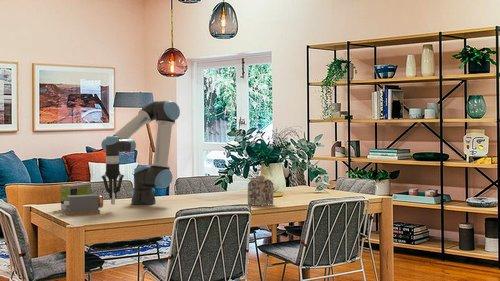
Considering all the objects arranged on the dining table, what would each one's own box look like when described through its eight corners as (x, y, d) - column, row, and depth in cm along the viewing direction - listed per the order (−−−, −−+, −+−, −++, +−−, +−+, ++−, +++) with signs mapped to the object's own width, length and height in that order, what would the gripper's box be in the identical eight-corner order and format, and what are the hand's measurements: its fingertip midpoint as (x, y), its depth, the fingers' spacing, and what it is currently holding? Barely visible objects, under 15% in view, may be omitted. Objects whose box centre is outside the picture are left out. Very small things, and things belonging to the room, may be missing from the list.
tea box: (81, 207, 405) (81, 182, 404) (92, 208, 398) (91, 183, 398) (60, 209, 393) (60, 184, 392) (70, 211, 387) (70, 185, 386)
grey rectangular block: (99, 207, 386) (99, 194, 385) (103, 208, 380) (103, 196, 379) (62, 209, 375) (62, 196, 375) (66, 210, 369) (66, 198, 369)
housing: (93, 211, 386) (93, 193, 386) (99, 213, 376) (99, 195, 376) (63, 213, 378) (63, 195, 378) (69, 215, 368) (69, 197, 367)
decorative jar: (273, 204, 418) (273, 175, 417) (261, 206, 409) (261, 177, 409) (259, 203, 426) (259, 174, 425) (246, 204, 417) (247, 175, 417)
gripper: (121, 162, 392) (121, 202, 393) (99, 163, 385) (99, 204, 386) (125, 163, 385) (126, 204, 386) (103, 164, 379) (103, 205, 380)
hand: (113, 204), depth 386 cm, fingers closed
